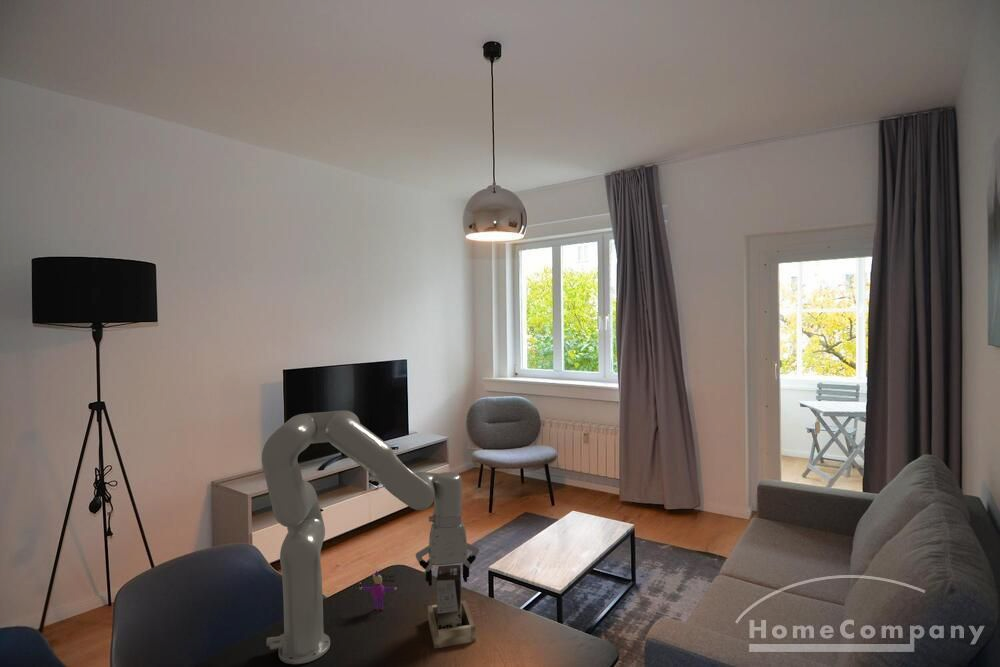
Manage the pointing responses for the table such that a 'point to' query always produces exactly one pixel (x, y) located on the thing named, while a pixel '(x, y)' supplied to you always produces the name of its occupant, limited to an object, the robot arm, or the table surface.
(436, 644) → the open wooden box
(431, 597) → the table surface
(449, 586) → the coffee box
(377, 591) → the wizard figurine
